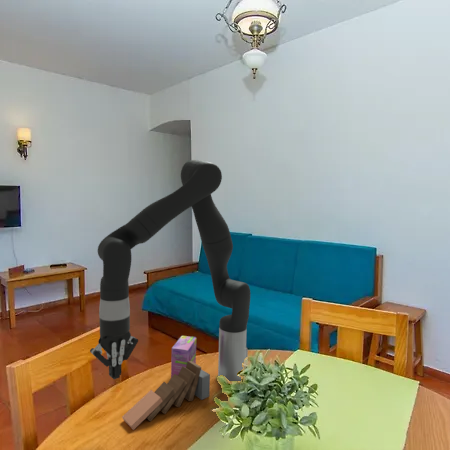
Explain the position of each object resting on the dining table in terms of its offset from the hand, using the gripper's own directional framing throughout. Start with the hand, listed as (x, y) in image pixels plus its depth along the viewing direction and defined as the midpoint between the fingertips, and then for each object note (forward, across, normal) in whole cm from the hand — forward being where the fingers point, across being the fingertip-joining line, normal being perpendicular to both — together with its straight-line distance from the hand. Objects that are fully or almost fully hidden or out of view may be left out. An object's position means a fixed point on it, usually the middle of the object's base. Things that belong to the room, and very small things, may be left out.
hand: (115, 377), depth 94 cm
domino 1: (+13, +7, -3) cm, 15 cm away
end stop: (+14, +26, -3) cm, 29 cm away
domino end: (+13, +2, -3) cm, 13 cm away
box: (+14, +29, +8) cm, 33 cm away
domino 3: (+13, +17, -3) cm, 21 cm away
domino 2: (+13, +12, -3) cm, 18 cm away
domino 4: (+13, +22, -3) cm, 25 cm away
